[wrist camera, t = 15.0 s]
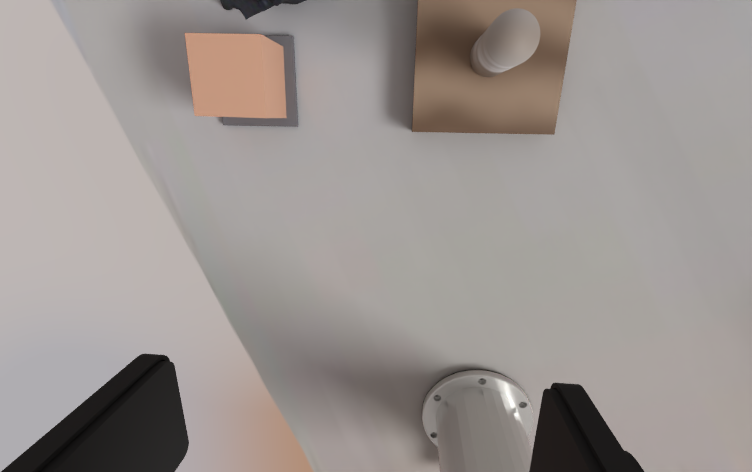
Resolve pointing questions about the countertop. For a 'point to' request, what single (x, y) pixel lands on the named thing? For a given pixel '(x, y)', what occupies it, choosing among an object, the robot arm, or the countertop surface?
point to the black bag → (254, 5)
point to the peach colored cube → (236, 75)
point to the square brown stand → (490, 65)
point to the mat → (289, 91)
